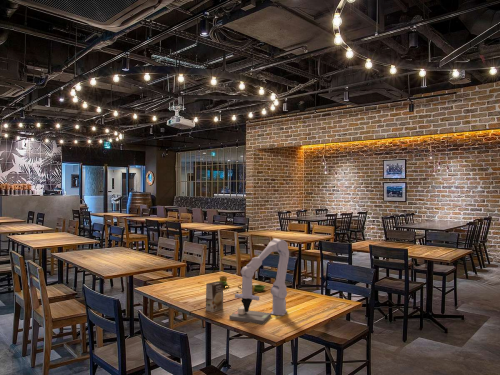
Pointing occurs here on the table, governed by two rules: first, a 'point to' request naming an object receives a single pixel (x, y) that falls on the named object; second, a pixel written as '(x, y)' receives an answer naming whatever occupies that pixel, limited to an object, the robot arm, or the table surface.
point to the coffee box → (214, 296)
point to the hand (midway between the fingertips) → (246, 311)
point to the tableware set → (254, 287)
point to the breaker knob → (241, 310)
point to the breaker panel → (251, 317)
